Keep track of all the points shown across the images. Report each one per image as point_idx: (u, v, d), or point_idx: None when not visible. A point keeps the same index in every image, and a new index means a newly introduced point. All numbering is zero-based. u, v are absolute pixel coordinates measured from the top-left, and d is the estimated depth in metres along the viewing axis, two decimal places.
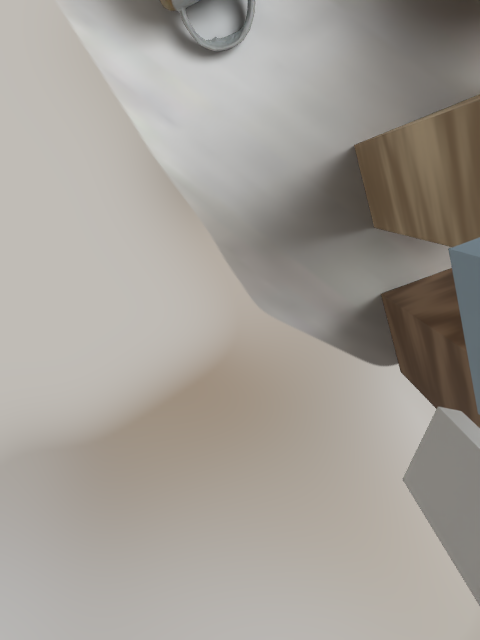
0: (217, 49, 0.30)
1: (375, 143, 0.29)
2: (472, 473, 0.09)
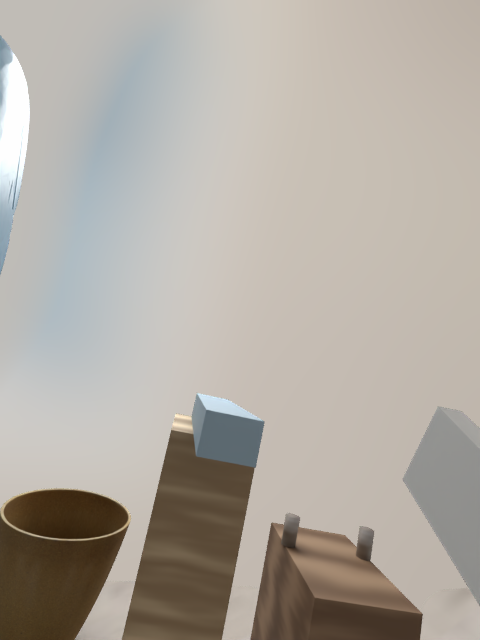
0: None
1: None
2: (472, 474, 0.09)
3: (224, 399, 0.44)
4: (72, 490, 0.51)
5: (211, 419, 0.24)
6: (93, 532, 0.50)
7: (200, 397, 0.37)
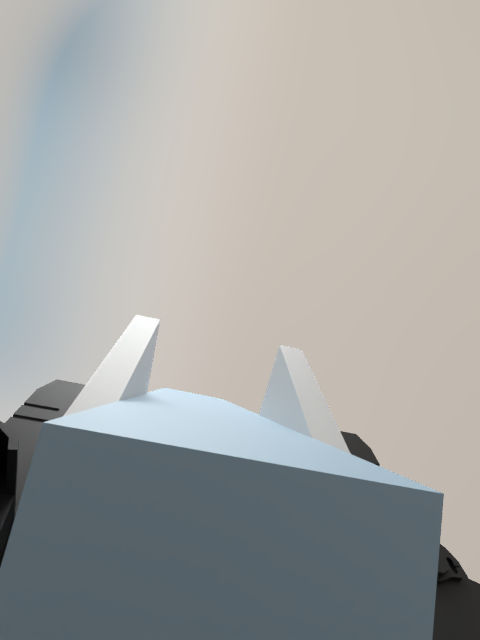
0: None
1: None
2: (283, 392, 0.10)
3: (215, 398, 0.24)
4: None
5: (79, 497, 0.03)
6: None
7: (158, 390, 0.16)
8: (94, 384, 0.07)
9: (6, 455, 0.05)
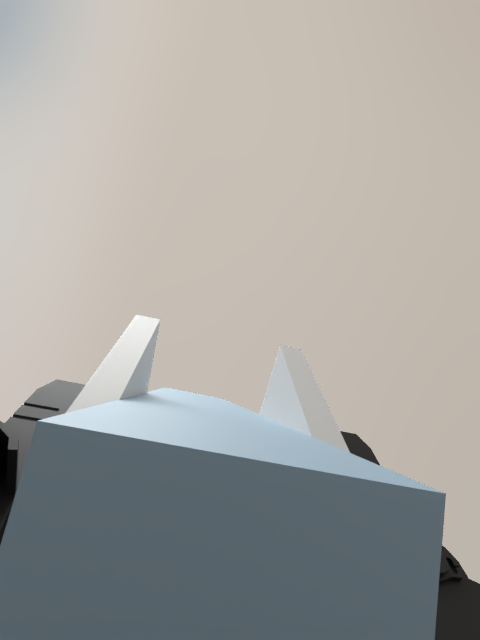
0: None
1: None
2: (283, 392, 0.10)
3: None
4: None
5: (73, 498, 0.03)
6: None
7: (158, 390, 0.16)
8: (94, 384, 0.07)
9: (6, 455, 0.05)
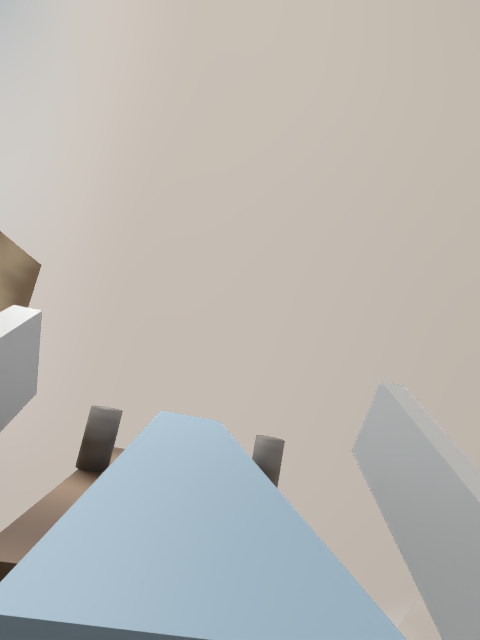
0: None
1: None
2: (402, 438, 0.10)
3: (212, 422, 0.23)
4: None
5: None
6: None
7: (150, 425, 0.16)
8: None
9: None
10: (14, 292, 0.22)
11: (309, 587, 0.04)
